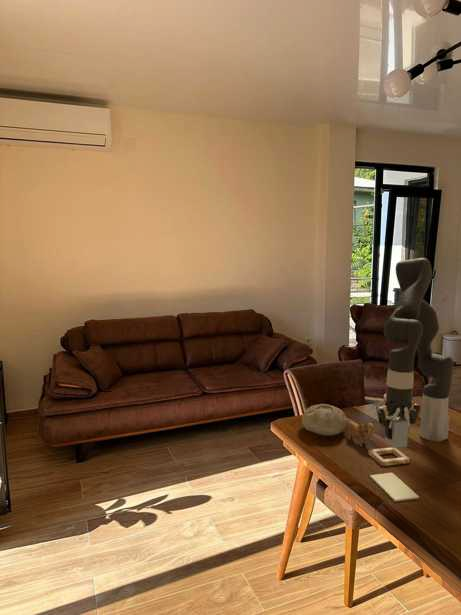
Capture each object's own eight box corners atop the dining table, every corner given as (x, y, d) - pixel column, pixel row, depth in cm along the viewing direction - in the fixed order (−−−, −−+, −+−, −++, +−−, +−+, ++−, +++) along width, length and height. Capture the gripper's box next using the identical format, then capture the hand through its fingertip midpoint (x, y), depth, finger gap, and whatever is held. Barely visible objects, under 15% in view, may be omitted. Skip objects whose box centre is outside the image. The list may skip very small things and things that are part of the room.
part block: (398, 440, 136) (399, 415, 134) (406, 446, 131) (408, 421, 130) (385, 441, 135) (386, 416, 133) (393, 447, 130) (395, 422, 129)
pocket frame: (394, 450, 159) (394, 447, 158) (409, 462, 150) (409, 458, 150) (368, 453, 156) (368, 449, 156) (382, 466, 148) (382, 461, 148)
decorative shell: (325, 445, 163) (326, 419, 162) (292, 429, 177) (292, 405, 176) (355, 433, 174) (356, 409, 172) (321, 418, 188) (322, 396, 186)
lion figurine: (377, 446, 162) (378, 423, 161) (368, 450, 159) (370, 427, 158) (346, 432, 174) (346, 411, 173) (337, 436, 171) (338, 414, 170)
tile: (391, 474, 142) (392, 472, 142) (419, 498, 129) (419, 496, 129) (370, 476, 141) (370, 475, 141) (395, 501, 127) (395, 499, 127)
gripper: (413, 378, 135) (409, 430, 138) (371, 381, 132) (368, 434, 135) (428, 386, 128) (424, 440, 130) (385, 389, 125) (382, 445, 127)
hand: (396, 437), depth 133 cm, fingers closed on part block, 4 cm apart
